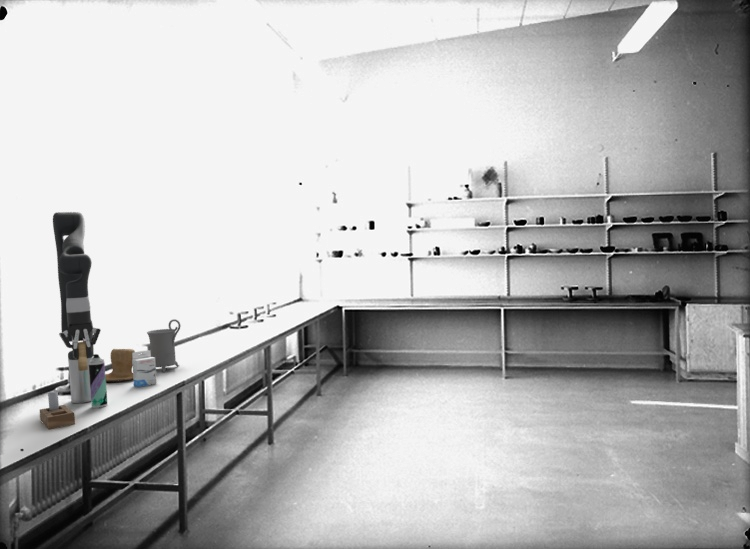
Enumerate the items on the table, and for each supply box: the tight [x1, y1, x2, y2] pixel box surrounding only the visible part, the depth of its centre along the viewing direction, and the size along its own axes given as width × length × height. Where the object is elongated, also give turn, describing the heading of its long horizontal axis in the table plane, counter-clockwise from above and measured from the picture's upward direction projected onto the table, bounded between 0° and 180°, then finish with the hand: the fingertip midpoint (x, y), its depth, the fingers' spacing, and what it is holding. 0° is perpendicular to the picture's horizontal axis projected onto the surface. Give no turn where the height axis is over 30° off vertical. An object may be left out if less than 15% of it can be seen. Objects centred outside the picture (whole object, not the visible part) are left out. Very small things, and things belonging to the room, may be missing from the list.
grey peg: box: [47, 390, 60, 411], centre depth 209 cm, size 3×3×10 cm
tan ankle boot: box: [105, 348, 136, 383], centre depth 273 cm, size 15×12×15 cm
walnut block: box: [39, 404, 76, 430], centre depth 206 cm, size 15×8×4 cm, turn 39°
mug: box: [146, 318, 181, 373], centre depth 294 cm, size 19×15×25 cm
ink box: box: [132, 349, 158, 388], centre depth 261 cm, size 9×5×15 cm, turn 133°
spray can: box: [89, 353, 108, 409], centre depth 226 cm, size 6×6×20 cm
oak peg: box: [77, 341, 88, 371], centre depth 212 cm, size 3×3×10 cm
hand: (82, 358), depth 212 cm, fingers closed on oak peg, 3 cm apart
